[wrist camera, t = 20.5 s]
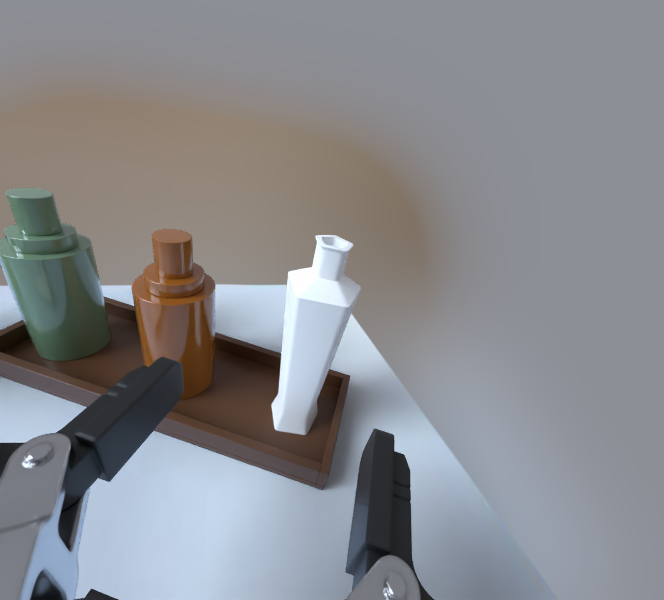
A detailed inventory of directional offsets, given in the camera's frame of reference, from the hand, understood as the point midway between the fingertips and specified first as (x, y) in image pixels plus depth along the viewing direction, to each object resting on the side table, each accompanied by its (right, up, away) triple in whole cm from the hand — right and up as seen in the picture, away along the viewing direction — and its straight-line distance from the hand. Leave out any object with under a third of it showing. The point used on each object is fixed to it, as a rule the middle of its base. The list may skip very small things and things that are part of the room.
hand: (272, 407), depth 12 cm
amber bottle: (-10, -2, +13) cm, 17 cm away
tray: (-10, -2, +13) cm, 17 cm away
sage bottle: (-20, +1, +14) cm, 24 cm away
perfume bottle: (-1, -5, +12) cm, 13 cm away
